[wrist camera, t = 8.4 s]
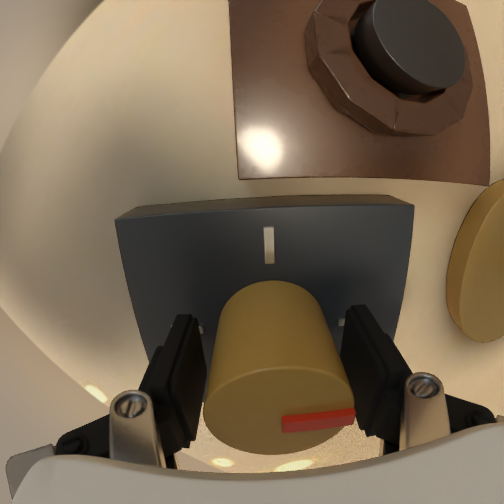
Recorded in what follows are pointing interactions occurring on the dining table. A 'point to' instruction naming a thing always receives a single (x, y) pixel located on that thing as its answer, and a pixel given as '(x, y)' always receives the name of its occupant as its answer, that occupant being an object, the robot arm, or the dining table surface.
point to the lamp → (479, 269)
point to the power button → (410, 46)
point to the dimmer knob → (275, 373)
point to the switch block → (347, 100)
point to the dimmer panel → (264, 258)
